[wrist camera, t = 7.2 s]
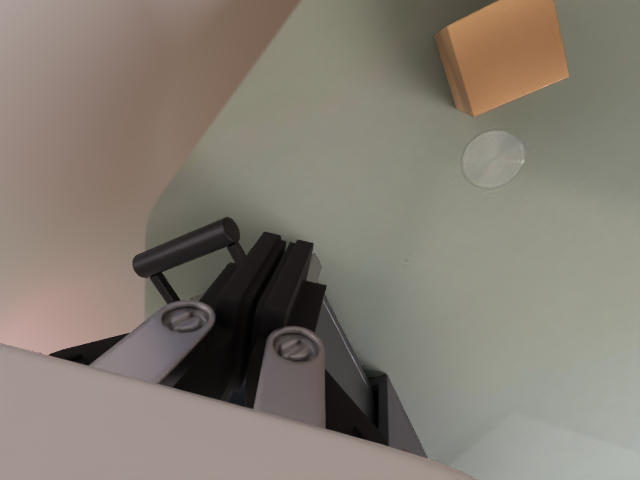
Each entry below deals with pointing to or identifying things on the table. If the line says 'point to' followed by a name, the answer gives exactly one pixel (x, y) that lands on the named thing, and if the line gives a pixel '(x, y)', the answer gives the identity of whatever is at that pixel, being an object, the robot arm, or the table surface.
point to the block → (501, 53)
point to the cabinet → (394, 418)
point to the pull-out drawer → (225, 234)
